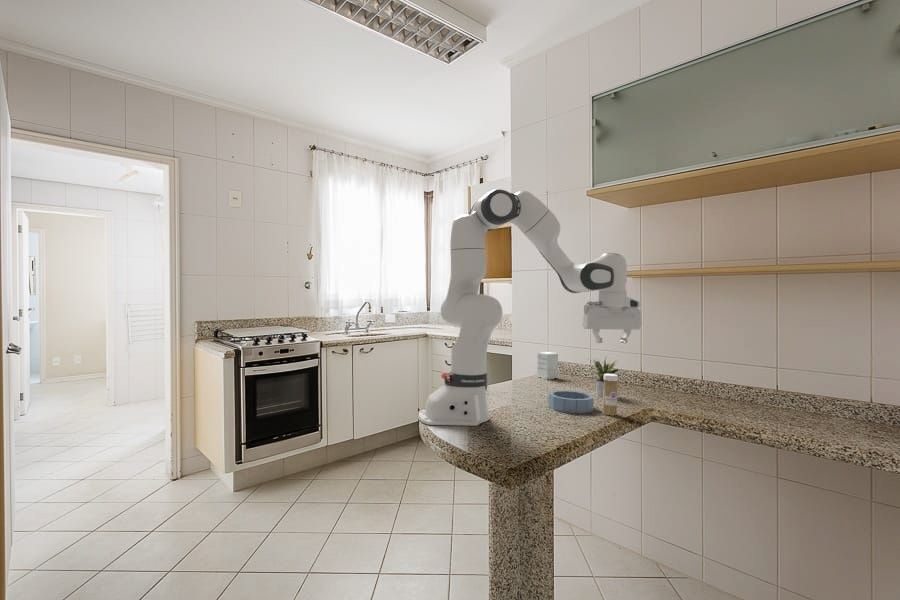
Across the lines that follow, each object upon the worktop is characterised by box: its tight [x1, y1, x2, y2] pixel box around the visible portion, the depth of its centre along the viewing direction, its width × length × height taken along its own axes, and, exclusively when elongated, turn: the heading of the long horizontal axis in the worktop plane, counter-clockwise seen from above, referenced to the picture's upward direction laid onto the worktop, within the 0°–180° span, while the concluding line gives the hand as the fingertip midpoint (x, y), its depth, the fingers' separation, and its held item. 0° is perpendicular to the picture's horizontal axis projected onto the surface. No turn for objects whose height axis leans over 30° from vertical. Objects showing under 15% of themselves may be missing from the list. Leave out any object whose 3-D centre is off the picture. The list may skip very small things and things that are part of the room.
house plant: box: [587, 355, 620, 398], centre depth 169 cm, size 14×14×16 cm
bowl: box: [548, 389, 594, 414], centre depth 149 cm, size 15×15×4 cm
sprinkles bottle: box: [602, 373, 619, 417], centre depth 141 cm, size 5×5×13 cm
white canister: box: [536, 351, 559, 380], centre depth 208 cm, size 7×7×13 cm
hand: (611, 343), depth 141 cm, fingers open, 8 cm apart
